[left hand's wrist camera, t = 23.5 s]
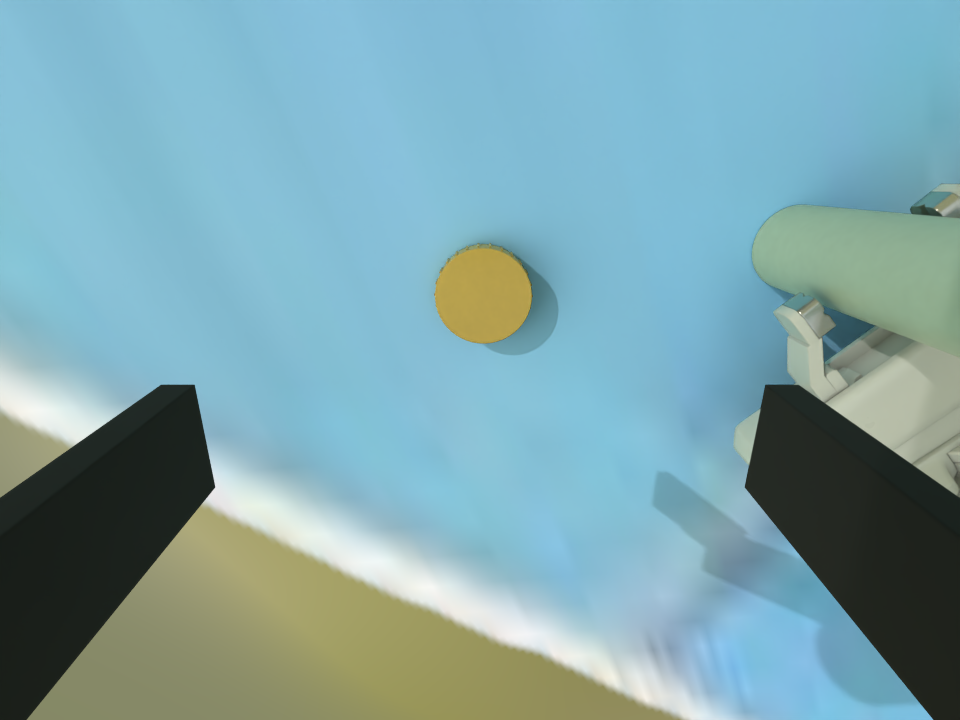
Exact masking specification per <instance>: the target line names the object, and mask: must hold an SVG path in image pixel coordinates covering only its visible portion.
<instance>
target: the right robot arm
mask: <svg viewBox="0 0 960 720" xmlns="http://www.w3.org/2000/svg"><path fill="white" fill-rule="evenodd" d="M910 210H911V213H912V214H916V215H927V216H939V217H950V218H960V184H940V185H939V186H938V187H936V188H935V189H934V190H932V191H931V192H930V193H928V194H927V195H926V196H925V197H923V198H922V199H921V200H919V201H918V202H917V203H915V204H914V205H913V206H912V207H911V208H910ZM773 313H774V315H775V317H776V318H777V319H778V321H779V322H780V323H781V325H782V326H783V327H784V329H785V330H786V331H787V333H788V334H789V336H788V337H787V372H788V373H789V374H790V376H791V377H792V378H793V379H794V381H795V382H796V383H795V384H794V385H800V386H801V387H803V388H804V389H805V390H807V391H808V392H810V393H811V394H813V395H814V396H815V397H817V398H818V399H820V400H821V401H823V402H824V403H825V404H827V405H828V406H830V407H831V408H833V409H834V410H835V411H837V412H838V413H840V414H841V415H843V416H844V417H845V418H847V419H848V420H850V421H851V422H852V423H854V424H855V425H857V426H858V427H860V428H861V429H862V430H864V431H865V432H867V433H868V434H870V435H871V436H872V437H874V438H875V439H877V440H878V441H880V442H881V443H882V444H884V445H885V446H887V447H888V448H890V449H891V450H892V451H894V452H895V453H897V454H898V455H900V456H901V457H902V458H904V459H905V460H907V461H908V462H909V463H911V464H912V465H914V466H915V467H917V468H918V469H919V470H921V471H922V472H924V473H925V474H927V475H928V476H929V477H931V478H932V479H934V480H935V481H937V482H938V483H939V484H941V485H942V486H944V487H945V488H947V489H948V490H949V491H951V492H952V493H954V494H955V495H957V496H958V497H960V358H959V357H957V356H954V355H952V354H949V353H946V352H944V351H941V350H938V349H936V348H933V347H931V346H928V345H925V344H923V343H920V342H917V341H915V340H912V339H909V338H907V337H904V336H902V335H899V334H896V333H894V332H891V331H888V330H886V329H883V328H880V327H878V326H874V327H873V328H871V329H870V330H869V331H867V332H866V333H864V334H863V335H862V336H860V337H859V338H857V339H856V340H855V341H853V342H852V343H851V344H849V345H848V346H846V347H845V348H844V349H842V350H841V351H839V352H838V353H837V354H835V355H834V356H832V357H831V358H830V359H828V360H827V361H826V362H824V360H823V343H822V336H824V335H825V334H826V333H827V332H829V331H830V330H831V329H833V328H834V327H835V326H836V324H835V323H834V321H833V320H832V319H831V317H830V316H829V315H827V314H825V313H824V307H823V306H822V305H821V304H820V302H819V301H818V300H816V299H815V298H814V297H812V296H809V295H807V296H805V295H804V294H803V293H801V292H799V293H797V294H796V295H795V296H793V297H792V298H791V299H789V300H788V301H787V302H785V303H784V304H782V305H781V306H780V307H779V308H777V309H776V310H775V311H773ZM760 409H761V408H760ZM760 409H759V410H757V411H756V412H755V413H753V414H752V415H750V416H749V417H748V418H746V419H745V420H743V421H742V422H741V423H739V424H738V425H737V426H736V428H735V432H734V445H733V446H734V449H735V450H736V452H737V453H738V454H739V455H740V456H741V457H742V458H743V460H744V461H745V462H746V463H747V464H748V465H749V464H750V459H751V454H752V449H753V444H754V439H755V434H756V429H757V424H758V419H759V414H760Z"/></svg>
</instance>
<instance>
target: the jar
mask: <svg viewBox="0 0 960 720" xmlns="http://www.w3.org/2000/svg"><path fill="white" fill-rule="evenodd" d="M752 261H753V265H754V268H755V270H756V272H757V274H758V276H759V277H760V278H761V279H762V280H763V281H764V282H765V283H767V284H769V285H770V286H773V287H775V288H778V289H780V290H783V291H786V292H788V293H791V294H794V295H796V294H797V293H799V292H801V293H803V294H804V295H805V296H807V295H809V296H812V297H814V298H815V299H816V300H818V301H819V302H820V304H821V305H823V306H825V307H828V308H830V309H833V310H836V311H838V312H841V313H844V314H846V315H849V316H852V317H854V318H857V319H859V320H862V321H865V322H867V323H870V324H873V325H875V326H878V327H880V328H883V329H886V330H888V331H891V332H894V333H896V334H899V335H902V336H904V337H907V338H909V339H912V340H915V341H917V342H920V343H923V344H925V345H928V346H931V347H933V348H936V349H938V350H941V351H944V352H946V353H949V354H952V355H954V356H957V357H959V358H960V218H950V217H939V216H927V215H916V214H905V213H893V212H882V211H871V210H859V209H848V208H837V207H825V206H814V205H794V206H790V207H787V208H784V209H782V210H780V211H778V212H777V213H775V214H774V215H773V216H771V217H770V218H769V219H768V220H767V221H766V222H765V223H764V224H763V225H762V227H761V228H760V230H759V231H758V233H757V235H756V238H755V240H754V244H753V248H752Z"/></svg>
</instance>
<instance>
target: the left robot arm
mask: <svg viewBox="0 0 960 720" xmlns="http://www.w3.org/2000/svg"><path fill="white" fill-rule="evenodd" d="M214 488H215V484H214V479H213V474H212V469H211V464H210V459H209V454H208V449H207V444H206V439H205V434H204V429H203V424H202V419H201V414H200V409H199V404H198V399H197V394H196V389H195V385H160V386H159V387H157V388H156V389H155V390H153V391H152V392H150V393H149V394H147V395H146V396H145V397H143V398H142V399H140V400H139V401H137V402H136V403H135V404H133V405H132V406H130V407H129V408H127V409H126V410H125V411H123V412H122V413H120V414H119V415H117V416H116V417H115V418H113V419H112V420H110V421H109V422H108V423H106V424H105V425H103V426H102V427H100V428H99V429H98V430H96V431H95V432H93V433H92V434H90V435H89V436H88V437H86V438H85V439H83V440H82V441H80V442H79V443H78V444H76V445H75V446H73V447H72V448H70V449H69V450H68V451H66V452H65V453H63V454H62V455H61V456H59V457H58V458H56V459H55V460H53V461H52V462H51V463H49V464H48V465H46V466H45V467H43V468H42V469H41V470H39V471H38V472H36V473H35V474H33V475H32V476H31V477H29V478H28V479H26V480H25V481H23V482H22V483H21V484H19V485H18V486H16V487H15V488H13V489H12V490H11V491H9V492H8V493H6V494H5V495H4V496H2V497H1V498H0V720H27V718H28V717H29V716H30V715H31V714H32V712H33V711H34V710H35V709H36V707H37V706H38V705H39V704H40V702H41V701H42V700H43V699H44V698H45V696H46V695H47V694H48V693H49V691H50V690H51V689H52V688H53V686H54V685H55V684H56V683H57V681H58V680H59V679H60V678H61V677H62V675H63V674H64V673H65V672H66V670H67V669H68V668H69V667H70V666H71V664H72V663H73V662H74V661H75V659H76V658H77V657H78V656H79V654H80V653H81V652H82V651H83V649H84V648H85V647H86V646H87V645H88V643H89V642H90V641H91V640H92V638H93V637H94V636H95V635H96V633H97V632H98V631H99V630H100V629H101V627H102V626H103V625H104V624H105V622H106V621H107V620H108V619H109V618H110V616H111V615H112V614H113V613H114V611H115V610H116V609H117V608H118V606H119V605H120V604H121V603H122V601H123V600H124V599H125V598H126V596H127V595H128V594H129V593H130V592H131V590H132V589H133V588H134V587H135V585H136V584H137V583H138V582H139V581H140V579H141V578H142V577H143V576H144V574H145V573H146V572H147V571H148V569H149V568H150V567H151V566H152V565H153V563H154V562H155V561H156V560H157V558H158V557H159V556H160V555H161V553H162V552H163V551H164V550H165V548H166V547H167V546H168V545H169V544H170V542H171V541H172V540H173V539H174V537H175V536H176V535H177V534H178V532H179V531H180V530H181V529H182V528H183V526H184V525H185V524H186V523H187V521H188V520H189V519H190V518H191V517H192V515H193V514H194V513H195V512H196V510H197V509H198V508H199V507H200V505H201V504H202V503H203V502H204V500H205V499H206V498H207V497H208V496H209V494H210V493H211V492H212V491H213V489H214ZM745 488H746V489H747V491H748V492H749V493H750V494H751V496H752V497H753V498H754V499H755V500H756V502H757V503H758V504H759V505H760V507H761V508H762V509H763V510H764V512H765V513H766V514H767V515H768V517H769V518H770V519H771V520H772V521H773V523H774V524H775V525H776V526H777V528H778V529H779V530H780V531H781V533H782V534H783V535H784V536H785V537H786V539H787V540H788V541H789V542H790V544H791V545H792V546H793V547H794V549H795V550H796V551H797V552H798V553H799V555H800V556H801V557H802V558H803V560H804V561H805V562H806V563H807V565H808V566H809V567H810V568H811V569H812V571H813V572H814V573H815V574H816V576H817V577H818V578H819V579H820V581H821V582H822V583H823V584H824V585H825V587H826V588H827V589H828V590H829V592H830V593H831V594H832V595H833V597H834V598H835V599H836V600H837V601H838V603H839V604H840V605H841V606H842V608H843V609H844V610H845V611H846V613H847V614H848V615H849V616H850V618H851V619H852V620H853V621H854V622H855V624H856V625H857V626H858V627H859V629H860V630H861V631H862V632H863V634H864V635H865V636H866V637H867V638H868V640H869V641H870V642H871V643H872V645H873V646H874V647H875V648H876V650H877V651H878V652H879V653H880V654H881V656H882V657H883V658H884V659H885V661H886V662H887V663H888V664H889V666H890V667H891V668H892V669H893V670H894V672H895V673H896V674H897V675H898V677H899V678H900V679H901V680H902V682H903V683H904V684H905V685H906V686H907V688H908V689H909V690H910V691H911V693H912V694H913V695H914V696H915V698H916V699H917V700H918V701H919V702H920V704H921V705H922V706H923V707H924V709H925V710H926V711H927V712H928V714H929V715H930V716H931V717H932V719H933V720H960V497H958V496H957V495H955V494H954V493H952V492H951V491H949V490H948V489H947V488H945V487H944V486H942V485H941V484H939V483H938V482H937V481H935V480H934V479H932V478H931V477H929V476H928V475H927V474H925V473H924V472H922V471H921V470H919V469H918V468H917V467H915V466H914V465H912V464H911V463H909V462H908V461H907V460H905V459H904V458H902V457H901V456H900V455H898V454H897V453H895V452H894V451H892V450H891V449H890V448H888V447H887V446H885V445H884V444H882V443H881V442H880V441H878V440H877V439H875V438H874V437H872V436H871V435H870V434H868V433H867V432H865V431H864V430H862V429H861V428H860V427H858V426H857V425H855V424H854V423H852V422H851V421H850V420H848V419H847V418H845V417H844V416H843V415H841V414H840V413H838V412H837V411H835V410H834V409H833V408H831V407H830V406H828V405H827V404H825V403H824V402H823V401H821V400H820V399H818V398H817V397H815V396H814V395H813V394H811V393H810V392H808V391H807V390H805V389H804V388H803V387H801V386H800V385H765V389H764V394H763V399H762V404H761V409H760V414H759V419H758V424H757V429H756V434H755V439H754V444H753V449H752V454H751V459H750V464H749V469H748V474H747V479H746V484H745Z"/></svg>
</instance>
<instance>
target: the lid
mask: <svg viewBox="0 0 960 720" xmlns="http://www.w3.org/2000/svg"><path fill="white" fill-rule="evenodd" d="M440 273H441V274H440V276H439V278H438V279H437V281H436V284H437V285H436V291H435V294H434V296H435V301H436V307H437V310H438V313H439V315H440V318H441V319H442V321H443V323H444V324H445V325H446V326H447V328H448V329H449V330H450V331H451V332H453V333H454V334H455V335H457V336H458V337H460V338H462V339H464V340H467V341H470V342H474V343H493V342H497V341H500V340H503V339H505V338H507V337H509V336H510V335H512V334H513V333H514V332H515V331H517V330H518V329H519V328H520V326H521V325H522V324H523V322H524V321H525V319H526V317H527V315H528V313H529V310H530V308H531V302H532V297H533V295H532V290H531V286H532V284H531V282H530V280H529V278H528V276H527V275H528V272H527V270H526V269H525V270H524V268H523V266H522V263H521V261H520V259H519V260H518V259H517V258H516V257H515V256H514V255H513V253H512V252H508V251H507V250H505V249H503V248H502V246H500V247H498V246H494V245H491V243H489V245H488V244H479V243H478V245H473V246H469V247H468V246H466V248H464V249H462V250H460V251H459V252H458V251H456V253H455V255H453V256H452V257H451V258H450V259H449V258H448V259H447V262H446V264H445V266H444V268H441V270H440Z"/></svg>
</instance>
